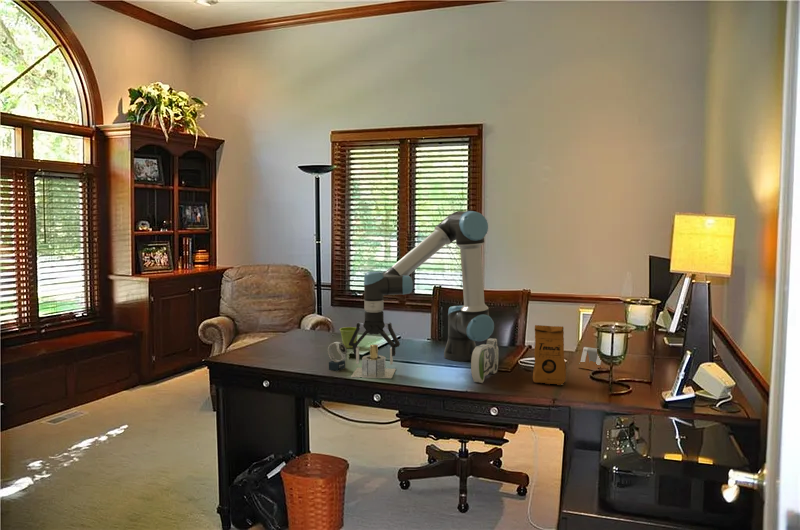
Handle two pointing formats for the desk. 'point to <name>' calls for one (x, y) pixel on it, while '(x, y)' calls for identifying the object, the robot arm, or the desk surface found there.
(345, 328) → the plant pot
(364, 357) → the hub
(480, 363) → the cutout
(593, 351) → the portable electronic device stand
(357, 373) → the square peg stand
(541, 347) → the coffee package
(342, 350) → the watch
